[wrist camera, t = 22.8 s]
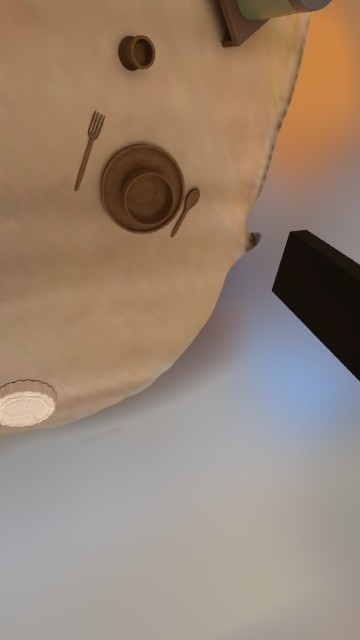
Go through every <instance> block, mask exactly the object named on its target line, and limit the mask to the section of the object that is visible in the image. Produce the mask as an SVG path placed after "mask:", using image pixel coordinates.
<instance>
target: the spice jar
mask: <svg viewBox="0 0 360 640" xmlns="http://www.w3.org/2000/svg"><path fill="white" fill-rule="evenodd" d="M331 1H332V0H237V4H238V7H239V10H240V12H241V14H242V15H243V16H244V18H246V19H247V20H249V21H253V22H255V21H260V20H266V19H271V18H276V17H281V16H286V15H292V14H297V13H306V12H312V11H316V10H320V9H322V8H324V7H325V6H326V5H328V4H329V3H330V2H331Z"/></svg>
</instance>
